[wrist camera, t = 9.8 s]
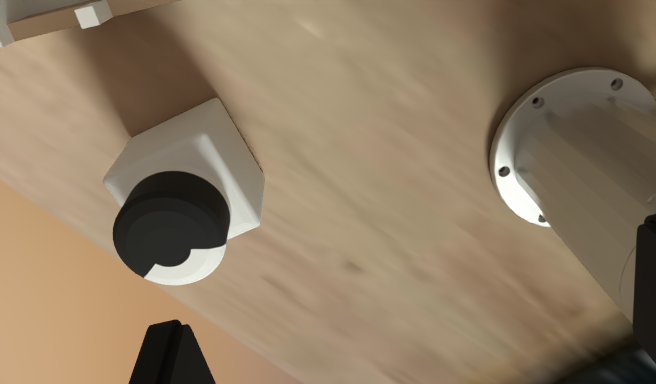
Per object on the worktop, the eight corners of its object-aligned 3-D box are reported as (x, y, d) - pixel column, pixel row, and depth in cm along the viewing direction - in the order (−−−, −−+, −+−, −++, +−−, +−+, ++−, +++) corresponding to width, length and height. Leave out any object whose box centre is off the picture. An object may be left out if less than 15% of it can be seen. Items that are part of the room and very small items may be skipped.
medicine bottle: (130, 137, 39) (69, 222, 28) (218, 94, 38) (189, 165, 27) (183, 215, 42) (147, 318, 31) (266, 177, 41) (258, 271, 30)
